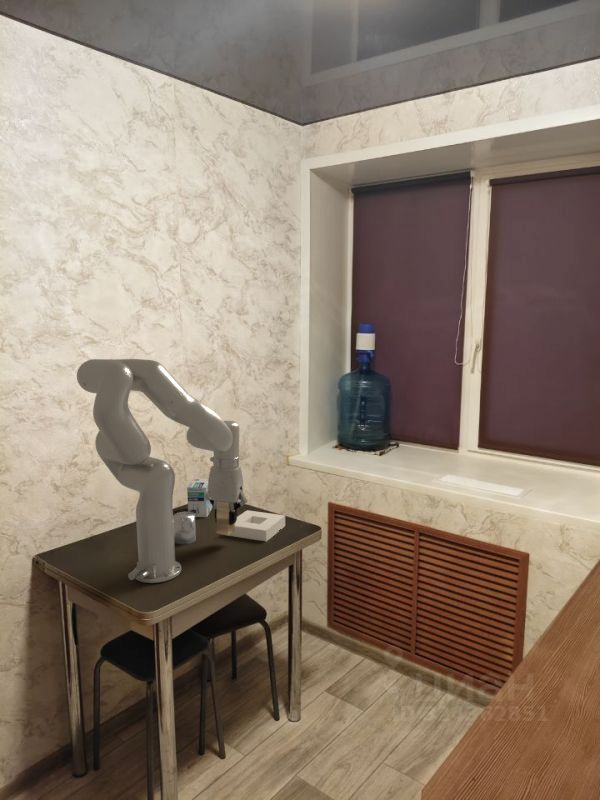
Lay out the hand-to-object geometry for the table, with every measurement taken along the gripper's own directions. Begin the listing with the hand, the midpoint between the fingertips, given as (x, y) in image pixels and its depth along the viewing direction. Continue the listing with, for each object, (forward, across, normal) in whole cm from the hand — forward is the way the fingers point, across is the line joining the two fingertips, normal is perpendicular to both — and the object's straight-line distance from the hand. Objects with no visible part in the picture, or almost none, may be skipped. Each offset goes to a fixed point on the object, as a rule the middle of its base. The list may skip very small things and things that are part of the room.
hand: (225, 521), depth 174 cm
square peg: (+3, 0, 0) cm, 3 cm away
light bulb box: (+7, -22, +22) cm, 32 cm away
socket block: (+6, +4, +14) cm, 15 cm away
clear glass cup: (+7, -14, -1) cm, 15 cm away
